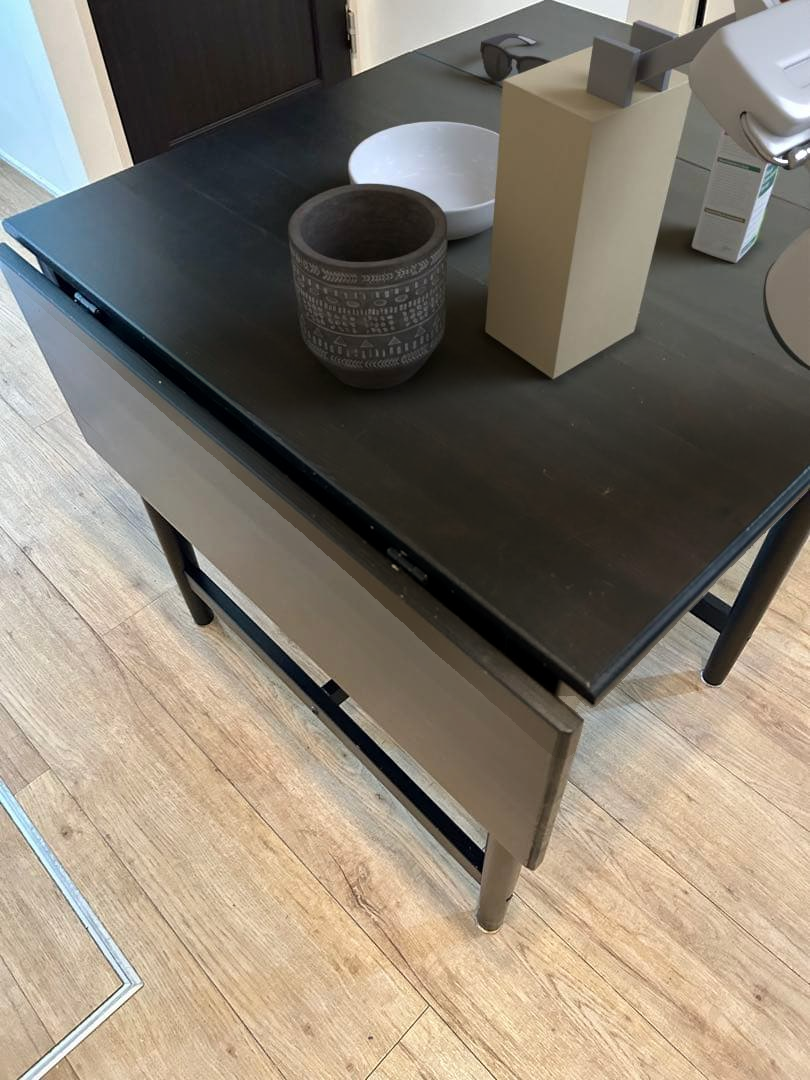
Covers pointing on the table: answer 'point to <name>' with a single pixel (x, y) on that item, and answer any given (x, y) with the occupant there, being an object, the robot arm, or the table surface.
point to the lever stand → (580, 198)
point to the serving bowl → (436, 169)
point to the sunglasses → (506, 57)
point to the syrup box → (734, 201)
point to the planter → (370, 281)
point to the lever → (678, 49)
